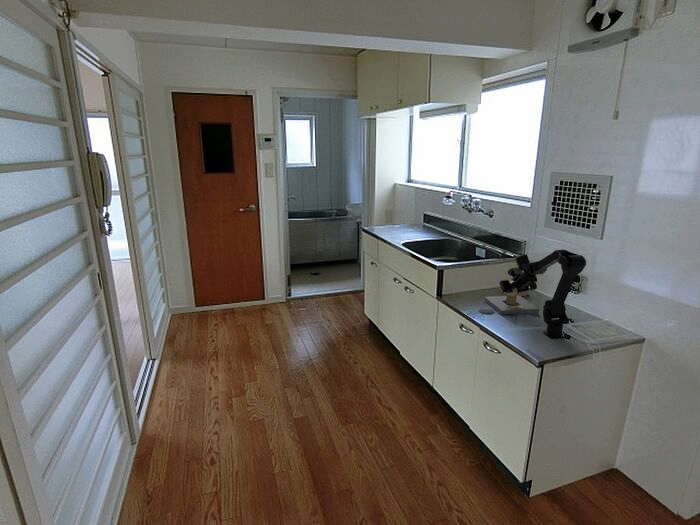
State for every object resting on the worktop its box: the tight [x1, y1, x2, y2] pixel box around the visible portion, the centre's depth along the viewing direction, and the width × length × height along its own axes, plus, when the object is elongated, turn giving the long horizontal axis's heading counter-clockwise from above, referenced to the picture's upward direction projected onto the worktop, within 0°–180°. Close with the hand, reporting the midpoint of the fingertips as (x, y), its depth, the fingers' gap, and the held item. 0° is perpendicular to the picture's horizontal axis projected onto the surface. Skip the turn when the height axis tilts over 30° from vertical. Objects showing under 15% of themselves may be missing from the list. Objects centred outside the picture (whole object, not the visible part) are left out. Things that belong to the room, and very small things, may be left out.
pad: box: [478, 308, 496, 316], centre depth 203 cm, size 8×8×1 cm
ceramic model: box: [500, 278, 530, 297], centre depth 231 cm, size 14×11×10 cm
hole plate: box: [484, 295, 540, 315], centre depth 210 cm, size 20×20×3 cm
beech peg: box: [506, 281, 518, 305], centre depth 208 cm, size 5×5×13 cm
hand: (510, 292), depth 209 cm, fingers closed on beech peg, 5 cm apart
